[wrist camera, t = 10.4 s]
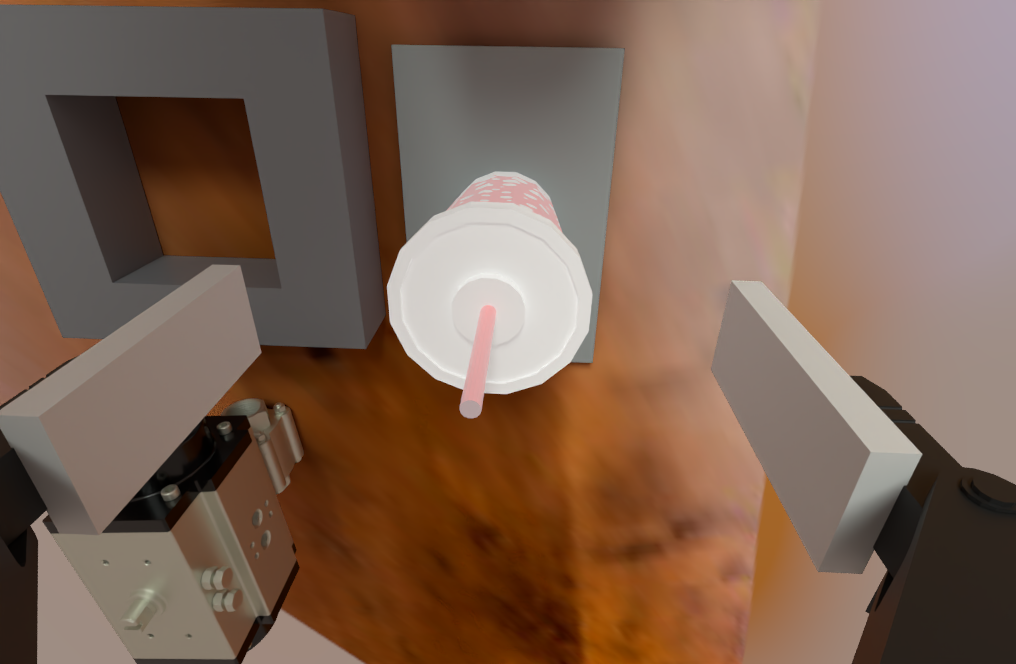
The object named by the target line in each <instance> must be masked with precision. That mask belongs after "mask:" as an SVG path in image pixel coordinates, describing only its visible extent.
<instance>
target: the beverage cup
mask: <svg viewBox="0 0 1016 664" xmlns="http://www.w3.org/2000/svg"><path fill="white" fill-rule="evenodd" d="M387 294H388V305H389V317H390V323H391V325H392V327H393V329H394V331H395V333H396V335H397V337H398V338H399V340H400V342H401V344H402V346H403V348H404V350H405V351H406V353H407V355H408V356H409V357H410V358H412V359H413V360H414V361H415V362H416V363H417V364H419V365H420V366H421V367H422V368H423V369H424V370H425V371H427V372H428V373H429V374H430V375H431V376H432V377H434V378H435V379H437V380H439V381H442V382H444V383H447V384H450V385H452V386H455V387H457V388H460V389H462V390H463V393H462V398H461V403H460V412H461V414H462V415H463V416H464V417H467V418H476V417H478V416H479V415H480V413H481V410H482V404H483V397H484V393H492V394H509V393H512V392H516V391H519V390H523V389H526V388H529V387H533V386H536V385H540V384H542V383H544V382H545V381H546V380H548V379H549V378H550V377H552V376H553V375H554V374H556V373H557V372H558V371H559V370H561V369H562V368H563V367H565V366H566V365H567V364H569V363H570V362H571V361H572V359H573V357H574V355H575V354H576V352H577V350H578V349H579V347H580V345H581V344H582V342H583V340H584V338H585V337H586V335H587V333H588V332H589V324H590V315H591V305H592V296H593V294H592V290H591V287H590V284H589V281H588V278H587V275H586V272H585V269H584V267H583V264H582V261H581V258H580V255H579V253H578V250H577V248H576V247H575V246H574V245H573V244H572V243H571V242H570V241H569V240H568V239H567V237H566V236H565V235H564V234H563V233H562V230H561V227H560V224H559V222H558V219H557V216H556V213H555V210H554V208H553V205H552V202H551V199H550V197H549V196H548V194H547V193H546V192H545V191H544V190H543V189H542V188H541V187H540V186H539V184H538V183H537V182H536V181H534V180H532V179H530V178H528V177H526V176H523V175H521V174H519V173H517V172H496V171H495V172H493V173H490V174H488V175H485V176H483V177H480V178H477V179H476V180H475V181H474V182H473V183H472V184H471V185H469V186H468V187H467V188H466V189H465V190H464V191H463V192H462V193H461V195H460V196H459V197H458V198H457V199H456V200H455V201H454V202H453V204H452V205H451V206H450V207H449V208H448V209H447V210H446V211H445V212H442V213H439V214H437V215H434V216H433V217H432V218H431V219H430V220H429V221H428V222H427V223H426V224H425V225H424V226H423V227H422V228H421V229H420V230H419V231H418V232H417V233H416V234H415V235H414V236H413V237H412V238H411V239H410V240H409V241H408V242H407V243H406V244H405V245H404V246H403V247H402V248H401V250H400V251H399V254H398V257H397V260H396V262H395V265H394V268H393V271H392V273H391V276H390V279H389V282H388V284H387Z"/></svg>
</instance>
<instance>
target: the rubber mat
mask: <svg viewBox="0 0 1016 664" xmlns="http://www.w3.org/2000/svg"><path fill="white" fill-rule="evenodd" d="M391 47H392V60H393V73H394V86H395V98H396V111H397V124H398V137H399V150H400V163H401V175H402V188H403V201H404V214H405V227H406V240H407V242H408V241H409V240H410V239H411V238H412V237H413V236H414V235H415V234H416V233H417V232H418V231H419V230H420V229H421V228H422V227H423V226H424V225H425V224H426V223H427V222H428V221H429V220H430V219H431V218H432V217H433V216H434V215H437V214H439V213H442V212H445V211H446V210H447V209H448V208H449V207H450V206H451V205H452V204H453V202H454V201H455V200H456V199H457V198H458V197H459V196H460V195H461V193H462V192H463V191H464V190H465V189H466V188H467V187H468V186H469V185H471V184H472V183H473V182H474V181H475V180H476V179H477V178H480V177H483V176H485V175H488V174H490V173H493V172H495V171H496V172H517V173H519V174H521V175H523V176H526V177H528V178H530V179H532V180H534V181H536V182H537V183H538V184H539V186H540V187H541V188H542V189H543V190H544V191H545V192H546V193H547V194H548V196H549V197H550V199H551V202H552V205H553V208H554V210H555V213H556V216H557V219H558V222H559V224H560V227H561V230H562V233H563V234H564V235H565V236H566V237H567V239H568V240H569V241H570V242H571V243H572V244H573V245H574V246H575V247H576V248H577V250H578V253H579V255H580V258H581V261H582V264H583V267H584V269H585V272H586V275H587V278H588V281H589V284H590V287H591V290H592V294H593V296H592V305H591V315H590V324H589V332H588V333H587V335H586V337H585V338H584V340H583V342H582V344H581V345H580V347H579V349H578V350H577V352H576V354H575V355H574V357H573V359H572V361H571V362H583V363H593V354H594V344H595V334H596V324H597V314H598V305H599V295H600V285H601V275H602V266H603V256H604V246H605V236H606V227H607V217H608V207H609V197H610V188H611V178H612V168H613V158H614V148H615V139H616V129H617V119H618V109H619V100H620V90H621V80H622V70H623V61H624V51H625V48H575V47H509V46H443V45H391Z"/></svg>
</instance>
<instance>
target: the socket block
mask: <svg viewBox="0 0 1016 664" xmlns="http://www.w3.org/2000/svg"><path fill="white" fill-rule="evenodd" d="M115 96H136V97H188V98H240V99H244V103H245V108H246V113H247V118H248V123H249V128H250V133H251V138H252V143H253V148H254V153H255V158H256V163H257V168H258V173H259V178H260V183H261V188H262V193H263V198H264V203H265V208H266V213H267V218H268V223H269V228H270V233H271V238H272V243H273V248H274V253H275V258H276V259H259V258H227V257H195V256H163V253H162V249H161V246H160V243H159V239H158V236H157V233H156V229H155V226H154V223H153V220H152V216H151V213H150V210H149V206H148V203H147V200H146V196H145V193H144V190H143V186H142V183H141V180H140V177H139V173H138V170H137V167H136V163H135V160H134V157H133V153H132V150H131V147H130V144H129V140H128V137H127V134H126V130H125V127H124V124H123V120H122V117H121V114H120V111H119V107H118V104H117V101H116V97H115ZM0 192H1V194H2V196H3V199H4V201H5V204H6V206H7V208H8V211H9V213H10V215H11V218H12V220H13V222H14V225H15V227H16V229H17V232H18V234H19V236H20V239H21V241H22V243H23V246H24V248H25V250H26V253H27V255H28V257H29V260H30V262H31V264H32V267H33V269H34V271H35V274H36V276H37V278H38V281H39V283H40V285H41V288H42V290H43V292H44V295H45V297H46V299H47V302H48V304H49V306H50V309H51V311H52V313H53V316H54V318H55V320H56V323H57V325H58V327H59V330H60V332H61V334H62V337H63V338H88V339H104V338H106V337H107V336H109V335H110V334H112V333H113V332H115V331H116V330H118V329H119V328H120V327H122V326H123V325H125V324H126V323H128V322H129V321H131V320H132V319H134V318H135V317H137V316H138V315H139V314H141V313H142V312H144V311H145V310H147V309H148V308H150V307H151V306H153V305H154V304H156V303H157V302H158V301H160V300H161V299H163V298H164V297H166V296H167V295H169V294H170V293H172V292H173V291H175V290H176V289H177V288H179V287H180V286H182V285H183V284H185V283H186V282H188V281H189V280H191V279H192V278H194V277H195V276H196V275H198V274H199V273H201V272H202V271H204V270H205V269H207V268H208V267H210V266H211V265H240V267H241V271H242V275H243V279H244V283H245V287H246V291H247V295H248V299H249V303H250V308H251V312H252V316H253V320H254V324H255V328H256V332H257V336H258V340H259V344H260V345H274V346H300V347H327V348H354V349H366V348H367V346H368V345H369V343H370V341H371V339H372V338H373V336H374V334H375V333H376V331H377V329H378V327H379V326H380V324H381V322H382V321H383V319H384V317H385V315H386V311H385V302H384V292H383V282H382V273H381V263H380V254H379V244H378V234H377V225H376V215H375V205H374V196H373V186H372V176H371V167H370V157H369V147H368V138H367V128H366V119H365V109H364V99H363V90H362V80H361V70H360V61H359V51H358V41H357V32H356V22H355V15H351V14H346V13H341V12H336V11H332V10H327V9H309V8H229V7H149V6H70V5H0Z"/></svg>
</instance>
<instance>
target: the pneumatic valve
mask: <svg viewBox="0 0 1016 664" xmlns="http://www.w3.org/2000/svg"><path fill="white" fill-rule="evenodd" d="M273 408H274V409H267V408H266V405H265V402H264V400H261V399H257V398H249V399H244V400H240V401H237V402H235V403H233V404H231V405H229V406H228V407H227V408H225V409H224V410H223V412H222V413H221V416H205V417H204V418H203V419H202V420H201V421H200V423H199V424H198V425H197V426H196V427H195V428H194V429H193V430H192V431H191V433H190V434H189V435H188V436H187V437H186V438H185V439H184V440H183V442H182V443H181V444H180V445H179V446H178V447H177V448H176V449H175V451H174V452H173V453H172V454H171V455H170V456H169V457H168V458H167V460H166V461H165V462H164V463H163V464H162V465H161V466H160V467H159V469H158V470H157V471H156V472H155V473H154V474H153V475H152V476H151V478H150V479H149V480H148V481H147V482H146V483H145V484H144V485H143V487H142V488H141V489H140V490H139V491H138V492H137V493H136V494H135V496H134V497H133V498H132V499H131V500H130V501H129V502H128V503H127V505H126V506H125V507H124V508H123V509H122V510H121V511H120V512H119V514H118V515H117V516H116V517H115V518H114V519H113V520H112V521H111V523H110V524H109V525H108V526H107V527H106V528H105V529H104V530H103V532H102V533H101V534H100V535H81V534H61V533H59V532H58V530H57V528H56V527H55V525H54V523H53V521H52V519H51V518H50V516H49V515H48V516H47V517H46V518H45V519H44V520H43V523H44V524H45V526H46V527H47V529H48V530H49V532H50V533H51V535H52V536H53V538H54V540H55V541H56V543H57V544H58V546H59V547H60V549H61V550H62V551H63V553H64V555H65V556H66V557H67V559H68V561H69V562H70V563H71V565H72V567H73V568H74V570H75V571H76V573H77V574H78V576H79V577H80V578H81V580H82V582H83V583H84V585H85V586H86V588H87V589H88V591H89V592H90V594H91V595H92V597H93V598H94V600H95V601H96V603H97V604H98V606H99V607H100V609H101V610H102V612H103V613H104V615H105V616H106V618H107V620H108V621H109V623H110V624H111V625H112V627H113V629H114V630H115V631H116V633H117V634H118V636H119V637H120V639H121V641H122V642H123V644H124V645H125V647H126V648H127V650H128V651H129V653H130V654H131V656H132V657H133V659H134V660H135V662H136V663H137V664H241V663H242V661H243V659H244V657H245V655H246V653H247V652H248V651H249V650H251V649H252V648H253V647H255V646H256V645H257V644H258V643H259V642H260V641H261V640H262V639H263V638H264V637H265V636H266V635H267V633H268V632H269V631H270V629H271V627H272V626H273V624H274V623H275V621H276V618H277V616H278V613H279V611H280V609H281V607H282V604H283V602H284V600H285V598H286V596H287V594H288V592H289V589H290V587H291V585H292V583H293V581H294V579H295V576H296V574H297V572H298V570H299V565H298V562H297V559H296V557H295V552H296V547H295V545H294V542H293V539H292V536H291V534H290V531H289V528H288V526H287V523H286V520H285V517H284V515H283V512H282V509H281V507H280V504H279V501H278V499H277V496H276V495H277V494H279V493H281V492H282V491H283V490H284V489H285V488H286V487H287V486H288V485H289V483H290V476H289V474H290V472H291V471H292V469H293V467H294V465H295V463H297V462H299V461H301V460H302V458H301V457H303V455H304V451H303V448H302V444H301V441H300V438H299V435H298V432H297V429H296V426H295V423H294V419H293V416H292V413H291V410H290V408H289V407H287V406H285V405H284V403H280V402H278V403H276V404H275V405H274V406H273Z"/></svg>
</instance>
